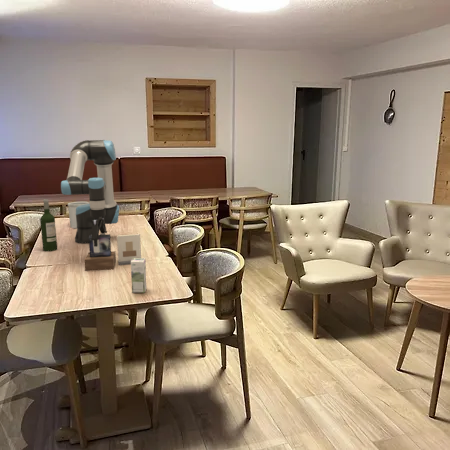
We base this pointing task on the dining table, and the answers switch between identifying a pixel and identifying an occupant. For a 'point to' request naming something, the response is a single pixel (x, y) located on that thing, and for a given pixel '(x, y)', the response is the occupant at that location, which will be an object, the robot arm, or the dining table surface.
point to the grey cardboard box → (128, 248)
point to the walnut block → (100, 262)
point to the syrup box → (138, 275)
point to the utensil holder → (74, 212)
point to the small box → (101, 246)
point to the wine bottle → (48, 229)
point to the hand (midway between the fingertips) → (100, 248)
